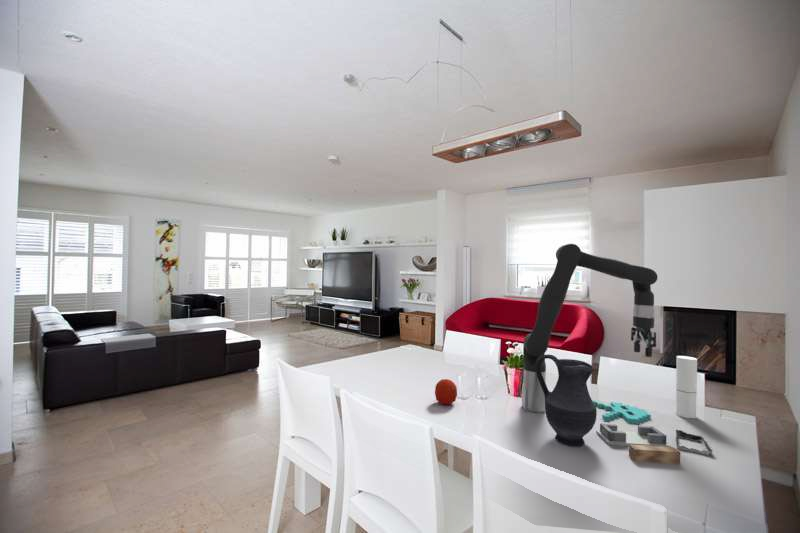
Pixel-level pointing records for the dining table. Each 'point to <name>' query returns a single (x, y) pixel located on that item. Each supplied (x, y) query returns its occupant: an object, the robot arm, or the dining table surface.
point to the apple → (445, 392)
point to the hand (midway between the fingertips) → (642, 354)
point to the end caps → (649, 431)
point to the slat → (654, 454)
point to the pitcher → (569, 400)
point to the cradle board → (631, 440)
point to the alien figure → (623, 412)
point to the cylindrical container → (686, 386)
